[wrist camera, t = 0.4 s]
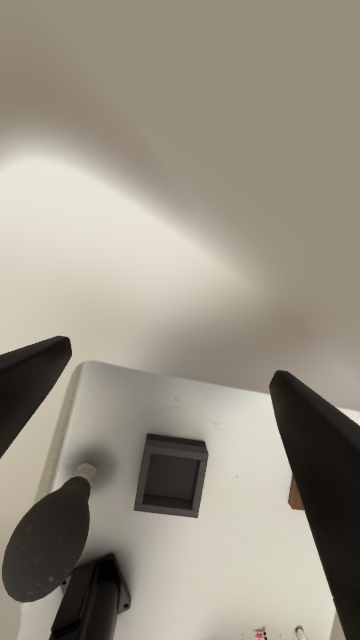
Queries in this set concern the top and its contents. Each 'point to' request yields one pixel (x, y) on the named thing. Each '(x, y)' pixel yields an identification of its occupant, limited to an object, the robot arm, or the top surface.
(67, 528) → the light bulb
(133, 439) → the top surface
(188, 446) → the base pad
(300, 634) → the figurine set
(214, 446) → the top surface
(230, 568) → the top surface
